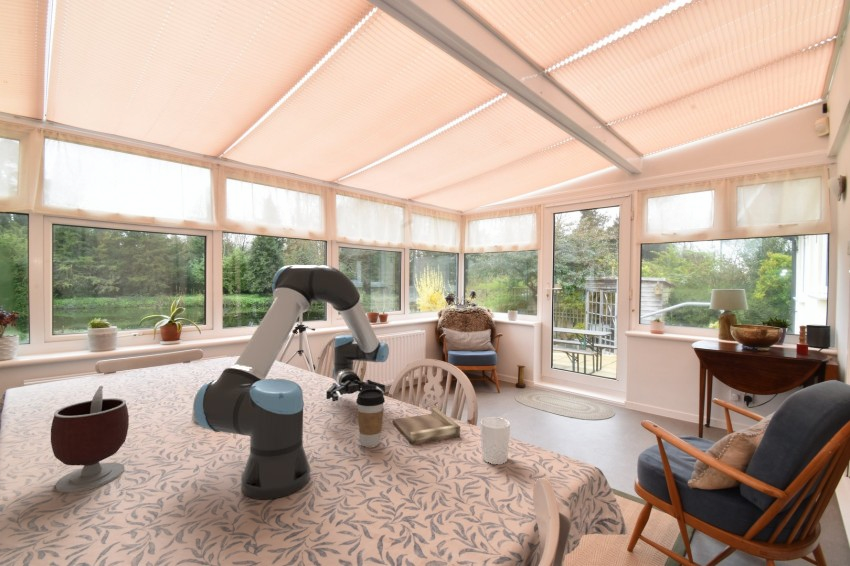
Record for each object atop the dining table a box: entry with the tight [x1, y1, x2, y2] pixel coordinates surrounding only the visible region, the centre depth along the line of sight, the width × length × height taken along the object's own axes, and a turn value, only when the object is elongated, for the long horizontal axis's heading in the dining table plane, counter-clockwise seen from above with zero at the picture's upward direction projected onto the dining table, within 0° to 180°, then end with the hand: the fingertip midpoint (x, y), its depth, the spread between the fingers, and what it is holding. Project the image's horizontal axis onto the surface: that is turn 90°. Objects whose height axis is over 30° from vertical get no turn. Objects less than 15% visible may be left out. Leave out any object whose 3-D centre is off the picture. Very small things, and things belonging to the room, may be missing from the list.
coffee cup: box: [355, 389, 385, 448], centre depth 110 cm, size 8×8×15 cm
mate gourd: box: [50, 385, 130, 493], centre depth 89 cm, size 16×14×20 cm
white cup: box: [480, 416, 511, 465], centre depth 101 cm, size 8×8×10 cm
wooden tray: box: [392, 407, 461, 446], centre depth 120 cm, size 16×18×3 cm
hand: (362, 398), depth 120 cm, fingers open, 13 cm apart
